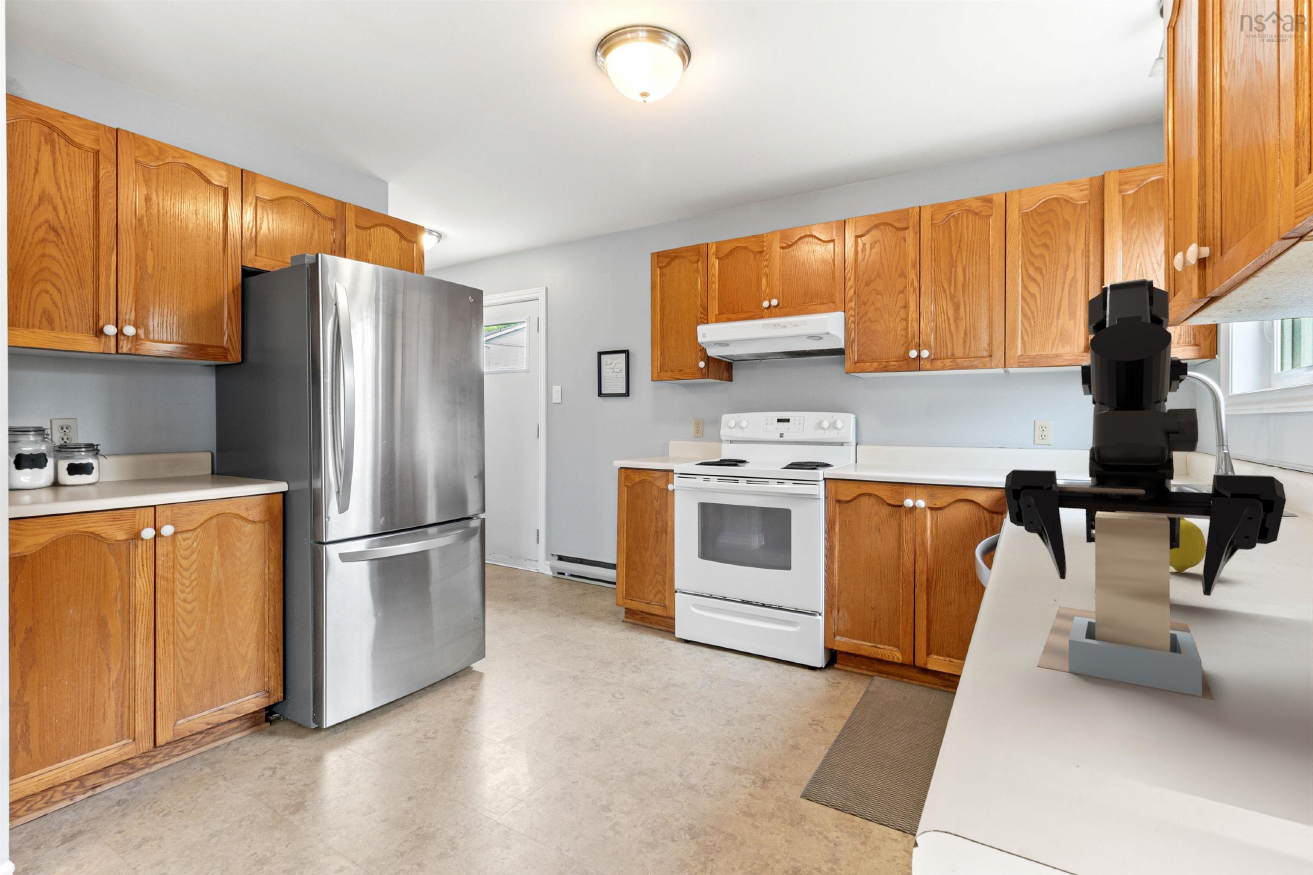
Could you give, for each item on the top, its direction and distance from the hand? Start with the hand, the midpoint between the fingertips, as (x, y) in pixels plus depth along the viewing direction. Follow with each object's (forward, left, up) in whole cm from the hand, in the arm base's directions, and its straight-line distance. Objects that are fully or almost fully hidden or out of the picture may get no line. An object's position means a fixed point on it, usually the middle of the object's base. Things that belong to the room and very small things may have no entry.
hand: (1130, 583), depth 50 cm
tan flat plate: (-6, -1, -7) cm, 10 cm away
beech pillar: (+1, 0, -6) cm, 7 cm away
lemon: (-53, +6, -8) cm, 54 cm away
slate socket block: (+1, 0, -6) cm, 6 cm away
